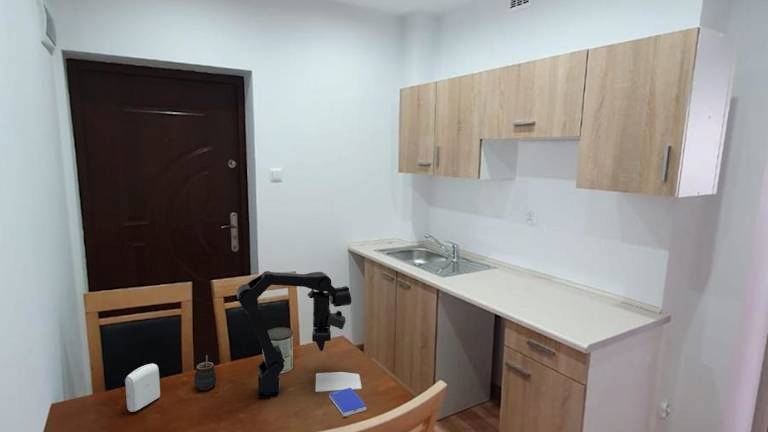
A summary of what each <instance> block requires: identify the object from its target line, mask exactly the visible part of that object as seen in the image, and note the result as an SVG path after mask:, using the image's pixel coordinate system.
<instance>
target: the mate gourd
mask: <svg viewBox="0 0 768 432" xmlns="http://www.w3.org/2000/svg"><path fill="white" fill-rule="evenodd" d="M208 359H209V354H206V355H205V361H204V362H201V363H198V364H197V365H196V371H195V373H194V374H195V375H194V379H193V383H194V386H195V388H196V389H199V390H200V391H207V390H210V389H211V388H213V387H214V385H216V382H217V374H216V370H215V365H214V363H213V362H210V361H208Z"/></svg>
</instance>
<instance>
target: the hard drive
mask: <svg viewBox="0 0 768 432" xmlns="http://www.w3.org/2000/svg"><path fill="white" fill-rule="evenodd" d="M328 397H329V399H330V400H331V401H332V402H333V404H334V405H335V406H336V409H337V410H338V411H339V412H340V413H341V415H342V416H343V417H347V416H351V415H355V414H357V413H360V412H365V411H366V410H367V408H368V406H367V404H366V403H365V402H364V401H363V400H362V399H361V398H360V397H359V395H358V394H357V393H356V392H355V391H354V390H353V389H352V388H347V389H343V390H339V391H331V392H329V394H328Z"/></svg>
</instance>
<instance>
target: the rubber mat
mask: <svg viewBox="0 0 768 432" xmlns="http://www.w3.org/2000/svg"><path fill="white" fill-rule="evenodd" d="M347 388H352V389H353V391H354V390H362V388H363V387H362V383H361V377H360V374H359V373H353V372H344V371H338V372H337V371H335V372H334V371H333V372H319V373H318V372H317V373H315V393H317V392H318V393H319V392H321V393H323V392H335V391H339V390H343V389H347Z"/></svg>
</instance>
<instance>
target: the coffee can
mask: <svg viewBox="0 0 768 432" xmlns="http://www.w3.org/2000/svg"><path fill="white" fill-rule="evenodd" d="M267 332H268V334H269V337H270V339H271V342H272V344H273V345H274V346H276V345H279V348H280V350H281V353H282V355H283V357H284V360H285V362H283V363H284V368H283V370H282V371H281V372H280V374H283V373H284V374H285V373H287V372H289V371H291V370H292V368H293V367H294V353H293V352H294V351H293V349H294V345H293V343H294V341H293V340H294V339H293V335H294V334H293V333H294V331H293V329H291V328H289V327H275V328H271V329H267Z"/></svg>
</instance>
